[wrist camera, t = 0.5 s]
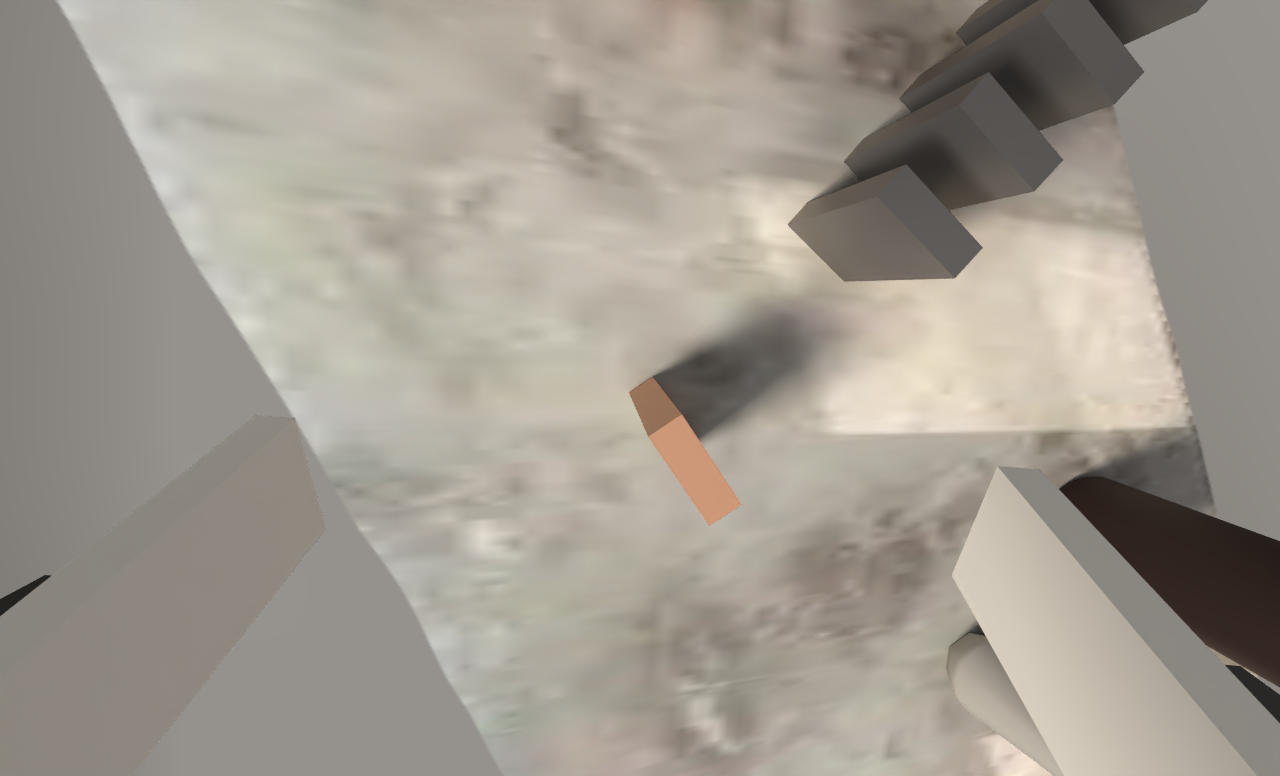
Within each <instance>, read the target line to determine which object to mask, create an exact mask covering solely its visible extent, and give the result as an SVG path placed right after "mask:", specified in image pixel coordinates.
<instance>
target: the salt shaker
mask: <svg viewBox="0 0 1280 776" xmlns="http://www.w3.org/2000/svg"><path fill="white" fill-rule="evenodd" d="M946 670H947V674H948V677H949V680H950V683H951V686H952V690H953V692H954V694H955V695H956V697H957V698H958V700H959V701H960V702H961V703H962V705H963V706H964V707H965V709H966V710H967V711H968V712H970V713H971V714H973V715H974V716H975V717H977V718H978V719H979V720H981V721H982V722H983V723H985V724H986V725H987V726H989V727H990V728H991V729H993V730H994V731H995V732H997V733H998V734H999V735H1001V736H1002V737H1003V738H1005V739H1006V740H1007V741H1009V742H1010V743H1011V744H1013V745H1014V746H1015V747H1017V748H1018V749H1019V750H1021V751H1022V752H1023V753H1025V754H1026V755H1027V756H1029V757H1030V758H1031V759H1033V760H1034V761H1035V762H1037V763H1038V764H1039V765H1041V766H1042V767H1043V768H1045V769H1046V770H1047V771H1049V772H1050V773H1051V774H1053V775H1054V776H1064V775H1063V773H1062V771H1061V769H1060V768H1059V766H1058V764H1057V762H1056V761H1055V759H1054V757H1053V755H1052V753H1051V752H1050V750H1049V748H1048V746H1047V744H1046V743H1045V741H1044V739H1043V737H1042V736H1041V734H1040V732H1039V730H1038V728H1037V727H1036V725H1035V723H1034V721H1033V719H1032V718H1031V716H1030V714H1029V712H1028V711H1027V709H1026V707H1025V705H1024V703H1023V702H1022V700H1021V698H1020V696H1019V694H1018V693H1017V691H1016V689H1015V687H1014V686H1013V684H1012V682H1011V680H1010V678H1009V677H1008V675H1007V673H1006V671H1005V670H1004V668H1003V666H1002V664H1001V662H1000V661H999V659H998V657H997V655H996V653H995V652H994V650H993V648H992V646H991V645H990V643H989V641H988V639H987V637H986V636H985V635H980V634H974V633H968V634H966V635H965V636H964V637H962V638H961V639H960V640H958V641H957V642H956V643H954V644H953V645H951V646H950V647H949V652H948V659H947V667H946Z"/></svg>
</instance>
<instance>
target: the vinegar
mask: <svg viewBox="0 0 1280 776" xmlns="http://www.w3.org/2000/svg"><path fill="white" fill-rule="evenodd" d="M1060 491H1061V492H1062V493H1063V494H1064V495H1065V496H1066V497H1067V498H1068V500H1069V501H1070V502H1071V503H1072V504H1073V505H1074V506H1075V507H1076V508H1077V509H1078V510H1079V511H1080V512H1081V513H1082V514H1083V515H1084V516H1085V518H1086V519H1087V520H1088V521H1089V522H1090V523H1091V524H1092V525H1093V526H1094V527H1095V528H1096V529H1097V530H1098V531H1099V532H1100V533H1101V535H1102V536H1103V537H1104V538H1105V539H1106V540H1107V541H1108V542H1109V543H1110V544H1111V545H1112V546H1113V547H1114V548H1115V549H1116V550H1117V551H1118V553H1119V554H1120V555H1121V556H1122V557H1123V558H1124V559H1125V560H1126V561H1127V562H1128V563H1129V564H1130V565H1131V566H1132V567H1133V568H1134V569H1135V571H1136V572H1137V573H1138V574H1139V575H1140V576H1141V577H1142V578H1143V579H1144V580H1145V581H1146V582H1147V583H1148V584H1149V585H1150V586H1151V587H1152V589H1153V590H1154V591H1155V592H1156V593H1157V594H1158V595H1159V596H1160V597H1161V598H1162V599H1163V600H1164V601H1165V602H1166V603H1167V604H1168V606H1169V607H1170V608H1171V609H1172V610H1173V611H1174V612H1175V613H1176V614H1177V615H1178V616H1179V617H1180V618H1181V619H1182V620H1183V621H1184V622H1185V624H1186V625H1187V626H1188V627H1189V628H1190V629H1191V630H1192V631H1193V632H1194V633H1195V634H1196V635H1197V636H1198V637H1199V638H1200V639H1201V640H1202V642H1203V643H1204V644H1205V645H1207V646H1208V647H1210V648H1212V649H1214V650H1215V651H1217V652H1219V653H1221V654H1222V655H1224V656H1226V657H1228V658H1229V659H1231V660H1233V661H1235V662H1236V663H1238V664H1240V665H1242V666H1243V667H1245V668H1247V669H1249V670H1250V671H1252V672H1254V673H1256V674H1257V675H1259V676H1261V677H1263V678H1264V679H1266V680H1268V681H1270V682H1272V683H1273V684H1275V685H1276V686H1278V687H1280V541H1278V540H1275V539H1272V538H1269V537H1266V536H1264V535H1261V534H1258V533H1256V532H1253V531H1250V530H1247V529H1245V528H1242V527H1239V526H1236V525H1234V524H1231V523H1228V522H1225V521H1223V520H1220V519H1217V518H1214V517H1212V516H1209V515H1206V514H1203V513H1201V512H1198V511H1195V510H1192V509H1190V508H1187V507H1184V506H1181V505H1179V504H1176V503H1173V502H1170V501H1168V500H1165V499H1162V498H1159V497H1157V496H1154V495H1151V494H1148V493H1146V492H1143V491H1140V490H1137V489H1135V488H1132V487H1129V486H1126V485H1124V484H1121V483H1118V482H1115V481H1113V480H1109V479H1106V478H1103V477H1084V478H1081V479H1079V480H1076V481H1073V482H1071V483H1069V484H1068V485H1067V486H1065V487H1064V488H1062V489H1061V490H1060Z"/></svg>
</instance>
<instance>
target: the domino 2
mask: <svg viewBox="0 0 1280 776" xmlns="http://www.w3.org/2000/svg"><path fill="white" fill-rule="evenodd" d="M1062 161H1063V159H1062V158H1061V157H1060V155H1059V154H1058V153H1057V152H1056V151H1055V150H1054V148H1053V147H1052V146H1051V145H1050V144H1049V143H1048V141H1047V140H1046V139H1045V138H1044V137H1043V135H1042V134H1041V133H1040V132H1039V131H1038V130H1037V128H1036V127H1035V126H1034V125H1033V124H1032V122H1031V121H1030V120H1029V119H1028V118H1027V117H1026V115H1025V114H1024V113H1023V112H1022V111H1021V109H1020V108H1019V107H1018V106H1017V105H1016V104H1015V102H1014V101H1013V100H1012V99H1011V98H1010V96H1009V95H1008V94H1007V93H1006V92H1005V91H1004V89H1003V88H1002V87H1001V86H1000V85H999V83H998V82H997V81H996V80H995V79H994V78H993V76H992V75H991V74H990V73H989V72H988V73H986V74H984V75H982V76H980V77H978V78H976V79H975V80H973V81H971V82H969V83H967V84H965V85H963V86H962V87H960V88H958V89H956V90H954V91H952V92H950V93H948V94H947V95H945V96H943V97H941V98H939V99H937V100H935V101H933V102H932V103H930V104H928V105H926V106H924V107H922V108H920V109H918V110H917V111H915V112H913V113H911V114H909V115H907V116H905V117H903V118H902V119H900V120H898V121H896V122H894V123H892V124H890V125H889V126H887V127H885V128H883V129H881V130H879V131H877V132H875V133H874V134H872V135H870V136H868V137H866V138H864V139H863V140H862V141H861V142H860V144H859V145H858V146H857V147H856V148H855V149H854V150H853V152H852V153H851V154H850V155H849V156H848V157H847V158H846V159H845V161H844V162H845V163H846V164H847V165H848V166H849V167H850V168H851V170H852V171H853V172H854V173H855V174H856V175H857V176H858V177H859V178H860V179H861V180H862V181H864V180H867V179H870V178H872V177H875V176H877V175H880V174H883V173H885V172H888V171H890V170H893V169H896V168H898V167H901V166H903V165H907V166H908V167H909V168H910V169H911V170H912V171H913V172H914V173H915V174H916V175H917V177H918V178H919V179H920V180H921V181H922V182H923V183H924V184H925V185H926V186H927V187H928V189H929V190H930V191H931V192H932V193H933V194H934V195H935V196H936V197H937V198H938V199H939V200H940V202H941V203H942V204H943V205H944V206H945V207H946V208H947V209H948V210H950V209H954V208H959V207H964V206H968V205H973V204H978V203H982V202H987V201H992V200H996V199H1001V198H1006V197H1010V196H1015V195H1020V194H1024V193H1029V192H1033V191H1035V190H1036V189H1037V188H1038V187H1039V186H1040V185H1041V183H1042V182H1043V181H1044V180H1045V179H1046V178H1047V177H1048V176H1049V175H1050V174H1051V173H1052V172H1053V170H1054V169H1055V168H1056V167H1057V166H1058V165H1059V164H1060V163H1061V162H1062Z"/></svg>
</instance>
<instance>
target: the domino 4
mask: <svg viewBox="0 0 1280 776" xmlns="http://www.w3.org/2000/svg"><path fill="white" fill-rule="evenodd" d="M1037 1H1038V0H989V1H988V2H986V3H985V4H983V5H982V6H981V7H979V8H978V9H977V10H976V11H975V12H974V13H973V14H972V15H971V16H970V18H969V19H968V20H967V21H966V22H965V23H964V24H963V26H962V27H961V28H960V29H959V30H958V31H957V32H956V33H957V34H958V35H959V37H960V38H961V39H962V40H963V41H964V43H965V44H966V45H969V44H970V43H972V42H973V41H975V40H977V39H978V38H980V37H981V36H983V35H985V34H986V33H988V32H989V31H991V30H992V29H994V28H996V27H997V26H999V25H1000V24H1002V23H1004V22H1005V21H1007V20H1008V19H1010V18H1011V17H1013V16H1015V15H1016V14H1018V13H1019V12H1021V11H1022V10H1024V9H1026V8H1027V7H1029V6H1030V5H1032V4H1034V3H1035V2H1037ZM1089 1H1090V3H1091V4H1092V5H1093V7H1094V8H1095V9H1096V10H1097V12H1098V13H1099V14H1100V16H1101V17H1102V18H1103V19H1104V21H1105V22H1106V23H1107V25H1108V26H1109V27H1110V28H1111V30H1112V31H1113V32H1114V34H1115V35H1116V36H1117V37H1118V39H1119V40H1120V41H1121V43H1122V44H1123V45H1124V44H1127V43H1129V42H1131V41H1133V40H1136V39H1138V38H1140V37H1142V36H1145V35H1146V34H1149V33H1151V32H1153V31H1156V30H1158V29H1160V28H1162V27H1164V26H1166V25H1169V24H1171V23H1173V22H1176V21H1178V20H1180V19H1182V18H1184V17H1187V16H1189V15H1191V14H1193V13H1196V12H1197V11H1198V10H1199V9H1200V8H1201V7H1202V6H1203V5H1204V4H1205V3H1206V2H1207V0H1089Z"/></svg>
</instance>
